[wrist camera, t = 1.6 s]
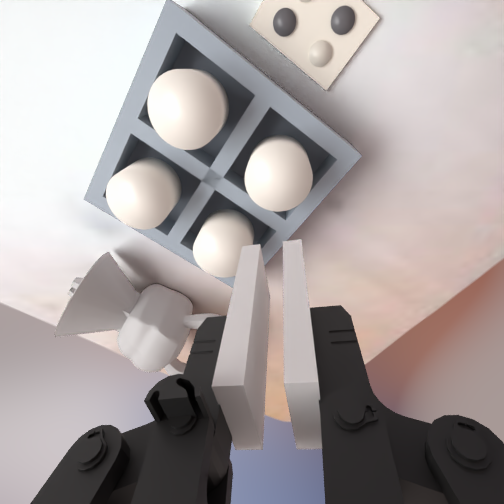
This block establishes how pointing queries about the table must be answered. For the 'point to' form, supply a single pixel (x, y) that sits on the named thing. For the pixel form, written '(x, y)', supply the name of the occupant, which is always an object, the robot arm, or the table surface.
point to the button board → (218, 140)
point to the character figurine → (131, 316)
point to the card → (315, 32)
